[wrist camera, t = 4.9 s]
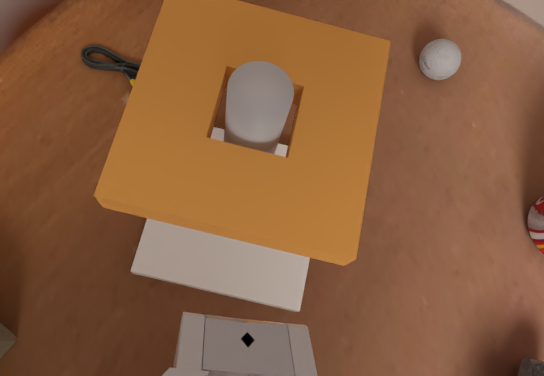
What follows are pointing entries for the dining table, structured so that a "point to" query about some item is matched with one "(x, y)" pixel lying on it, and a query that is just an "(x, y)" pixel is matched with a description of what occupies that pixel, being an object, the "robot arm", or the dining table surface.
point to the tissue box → (6, 339)
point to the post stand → (221, 250)
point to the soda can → (537, 223)
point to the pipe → (531, 367)
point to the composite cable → (122, 65)
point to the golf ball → (440, 59)
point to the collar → (241, 160)
